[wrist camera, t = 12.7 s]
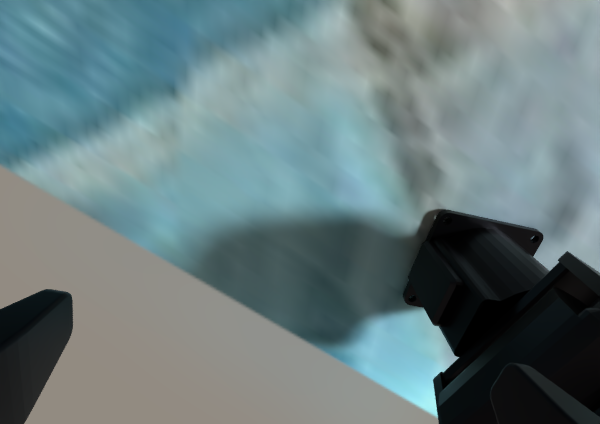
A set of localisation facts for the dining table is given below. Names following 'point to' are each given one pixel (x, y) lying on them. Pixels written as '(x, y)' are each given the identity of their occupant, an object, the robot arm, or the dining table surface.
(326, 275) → the dining table surface
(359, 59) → the dining table surface
